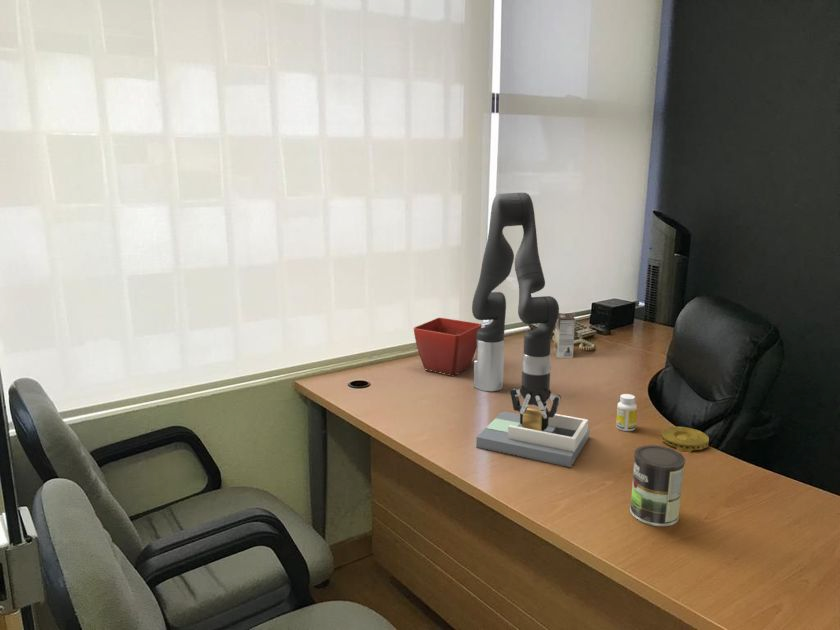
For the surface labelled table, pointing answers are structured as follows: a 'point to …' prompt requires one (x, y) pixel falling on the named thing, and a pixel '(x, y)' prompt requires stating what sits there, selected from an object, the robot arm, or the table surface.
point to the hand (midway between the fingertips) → (534, 427)
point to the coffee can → (657, 485)
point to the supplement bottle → (626, 413)
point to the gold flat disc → (685, 438)
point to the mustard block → (532, 419)
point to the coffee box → (564, 335)
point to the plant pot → (446, 344)
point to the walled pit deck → (536, 438)
